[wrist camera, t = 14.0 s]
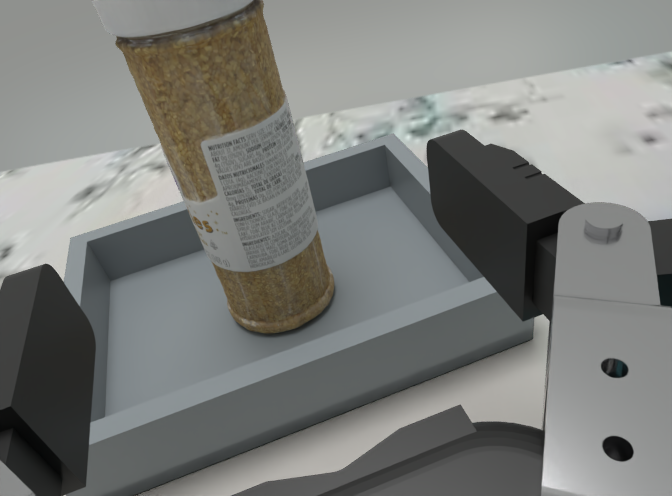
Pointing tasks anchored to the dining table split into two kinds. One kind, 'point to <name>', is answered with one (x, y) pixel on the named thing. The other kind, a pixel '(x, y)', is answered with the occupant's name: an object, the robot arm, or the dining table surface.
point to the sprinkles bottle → (229, 150)
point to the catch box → (273, 348)
